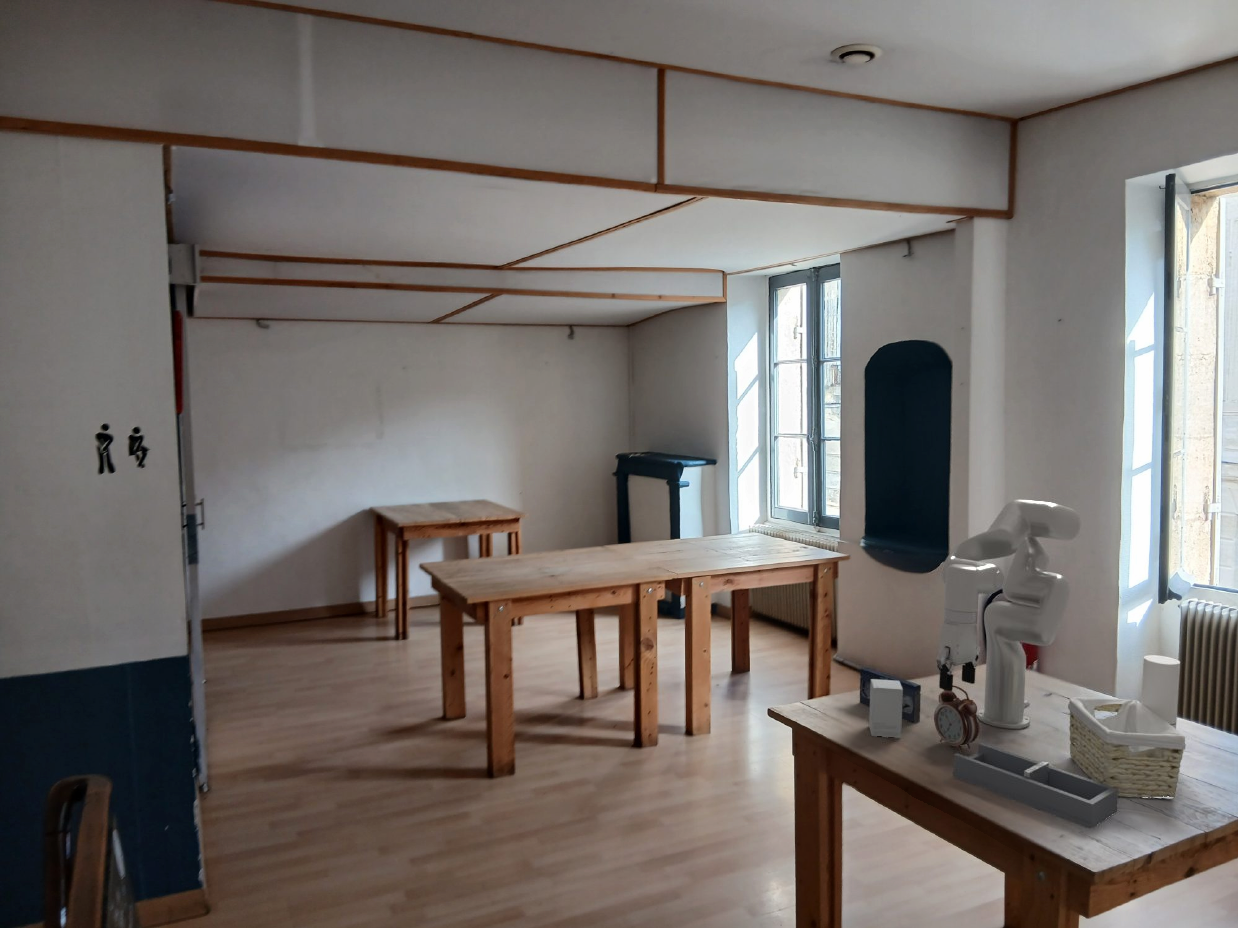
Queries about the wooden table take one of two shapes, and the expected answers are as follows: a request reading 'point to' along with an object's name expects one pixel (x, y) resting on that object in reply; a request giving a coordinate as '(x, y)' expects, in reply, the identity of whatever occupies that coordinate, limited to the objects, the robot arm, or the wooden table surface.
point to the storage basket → (1125, 747)
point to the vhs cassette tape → (909, 693)
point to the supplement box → (885, 708)
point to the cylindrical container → (1161, 686)
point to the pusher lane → (1038, 786)
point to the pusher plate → (1038, 773)
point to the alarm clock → (956, 719)
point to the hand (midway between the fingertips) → (957, 685)
